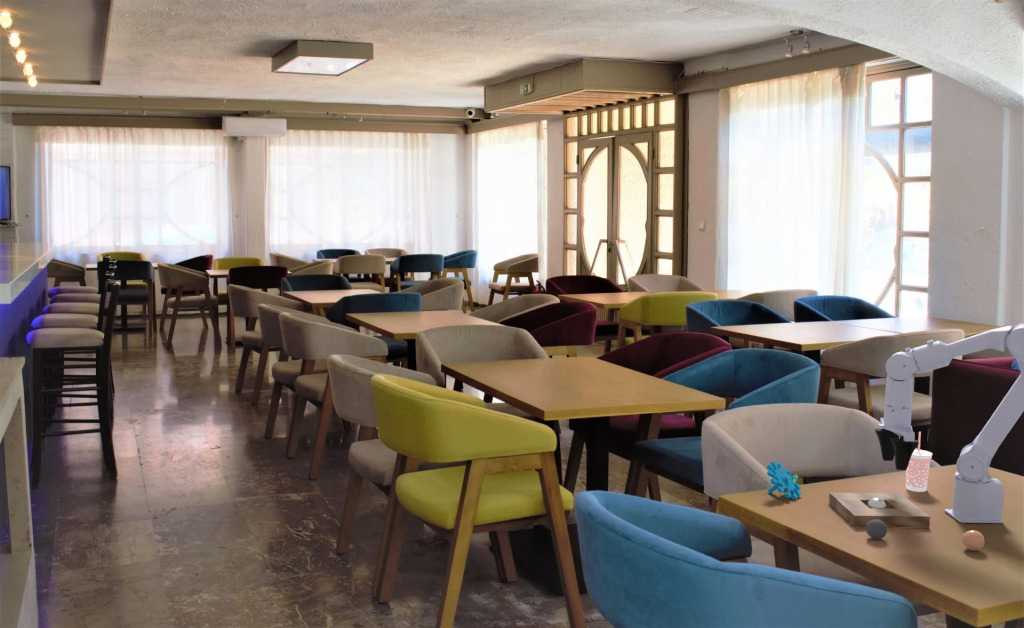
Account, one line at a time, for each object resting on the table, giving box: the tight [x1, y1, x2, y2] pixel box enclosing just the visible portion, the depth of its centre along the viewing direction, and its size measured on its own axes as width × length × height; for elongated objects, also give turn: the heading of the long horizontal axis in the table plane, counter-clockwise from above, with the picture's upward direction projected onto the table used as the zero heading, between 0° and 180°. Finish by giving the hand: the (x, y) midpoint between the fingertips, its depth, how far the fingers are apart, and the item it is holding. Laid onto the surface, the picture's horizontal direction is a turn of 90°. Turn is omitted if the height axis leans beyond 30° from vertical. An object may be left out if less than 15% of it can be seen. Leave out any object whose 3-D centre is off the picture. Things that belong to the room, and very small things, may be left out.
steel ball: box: [867, 498, 887, 509], centre depth 215 cm, size 4×4×4 cm
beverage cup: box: [905, 431, 933, 493], centre depth 235 cm, size 6×6×14 cm
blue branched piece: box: [766, 461, 802, 501], centre depth 230 cm, size 11×6×10 cm
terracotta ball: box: [961, 529, 985, 552], centre depth 195 cm, size 4×4×4 cm
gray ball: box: [865, 519, 888, 540], centre depth 201 cm, size 4×4×4 cm
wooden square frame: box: [828, 492, 931, 529], centre depth 216 cm, size 16×16×2 cm
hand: (894, 465), depth 222 cm, fingers open, 7 cm apart
